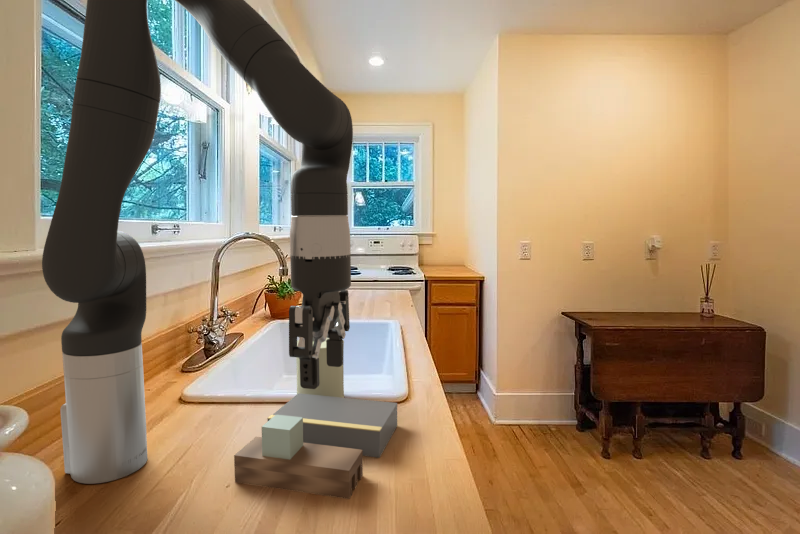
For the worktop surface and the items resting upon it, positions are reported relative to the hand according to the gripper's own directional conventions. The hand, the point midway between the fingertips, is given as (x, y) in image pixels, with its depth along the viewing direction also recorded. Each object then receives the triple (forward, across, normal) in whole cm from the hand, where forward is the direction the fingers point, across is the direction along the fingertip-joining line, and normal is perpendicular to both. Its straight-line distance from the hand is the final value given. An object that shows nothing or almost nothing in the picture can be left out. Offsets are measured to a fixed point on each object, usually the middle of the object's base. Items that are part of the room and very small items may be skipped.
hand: (323, 376), depth 61 cm
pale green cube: (+11, 0, -6) cm, 12 cm away
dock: (+14, -13, -4) cm, 20 cm away
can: (+15, -26, -12) cm, 32 cm away
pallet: (+15, 0, -4) cm, 15 cm away
